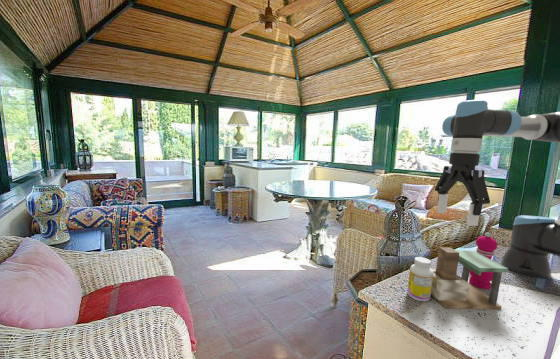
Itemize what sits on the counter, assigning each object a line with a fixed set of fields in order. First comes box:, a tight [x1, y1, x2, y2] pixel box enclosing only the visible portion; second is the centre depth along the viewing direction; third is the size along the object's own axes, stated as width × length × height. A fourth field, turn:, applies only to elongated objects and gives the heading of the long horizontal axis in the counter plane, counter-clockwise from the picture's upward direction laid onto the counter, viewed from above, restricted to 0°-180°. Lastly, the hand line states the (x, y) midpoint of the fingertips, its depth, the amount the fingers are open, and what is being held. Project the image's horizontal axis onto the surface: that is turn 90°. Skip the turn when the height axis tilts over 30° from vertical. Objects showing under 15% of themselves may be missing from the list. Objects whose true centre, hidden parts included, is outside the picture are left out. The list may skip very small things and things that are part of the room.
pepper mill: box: [468, 232, 498, 290], centre depth 91 cm, size 7×7×20 cm
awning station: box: [430, 249, 509, 310], centre depth 84 cm, size 19×14×13 cm
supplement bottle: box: [407, 256, 433, 302], centre depth 83 cm, size 7×7×13 cm
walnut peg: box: [435, 246, 459, 280], centre depth 84 cm, size 4×4×15 cm
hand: (455, 218), depth 81 cm, fingers open, 13 cm apart
